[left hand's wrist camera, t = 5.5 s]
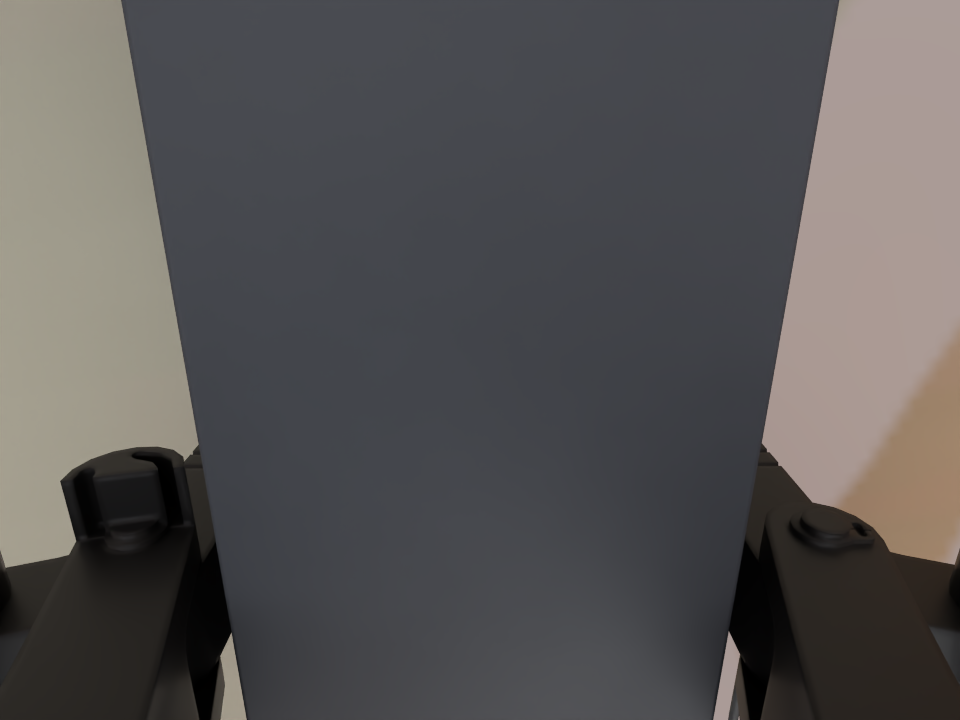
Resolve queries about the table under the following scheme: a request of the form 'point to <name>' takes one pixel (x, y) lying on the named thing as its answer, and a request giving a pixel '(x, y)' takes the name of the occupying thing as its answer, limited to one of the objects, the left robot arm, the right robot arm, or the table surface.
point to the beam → (480, 334)
